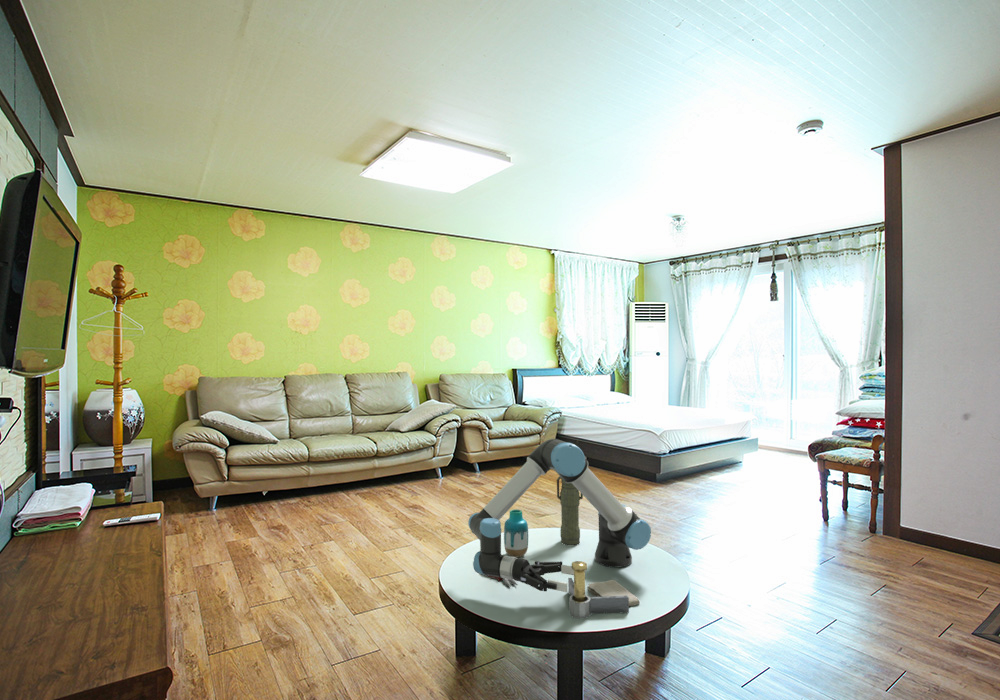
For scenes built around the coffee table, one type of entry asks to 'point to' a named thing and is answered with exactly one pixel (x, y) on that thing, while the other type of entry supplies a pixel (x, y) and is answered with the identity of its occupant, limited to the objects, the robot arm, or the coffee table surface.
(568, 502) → the thermos
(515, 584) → the pliers
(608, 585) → the washcloth
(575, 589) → the hinge pin
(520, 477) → the robot arm
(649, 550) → the coffee table surface
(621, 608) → the hinge
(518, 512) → the vase
